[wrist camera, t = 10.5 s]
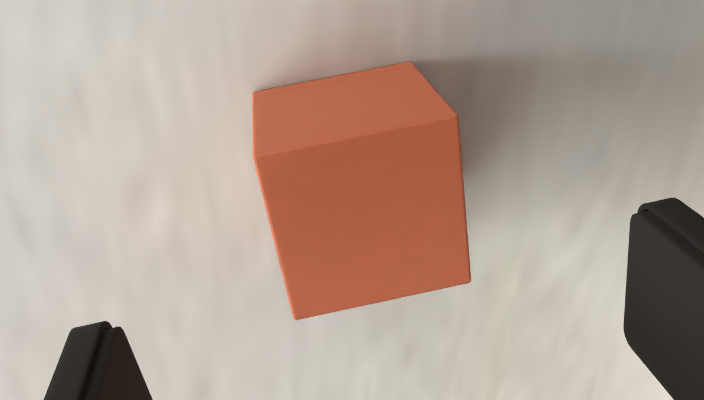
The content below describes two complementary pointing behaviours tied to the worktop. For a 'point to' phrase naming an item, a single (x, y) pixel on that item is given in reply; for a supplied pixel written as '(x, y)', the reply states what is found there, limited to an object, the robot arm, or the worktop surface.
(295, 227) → the block
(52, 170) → the worktop surface
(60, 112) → the worktop surface
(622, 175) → the worktop surface
